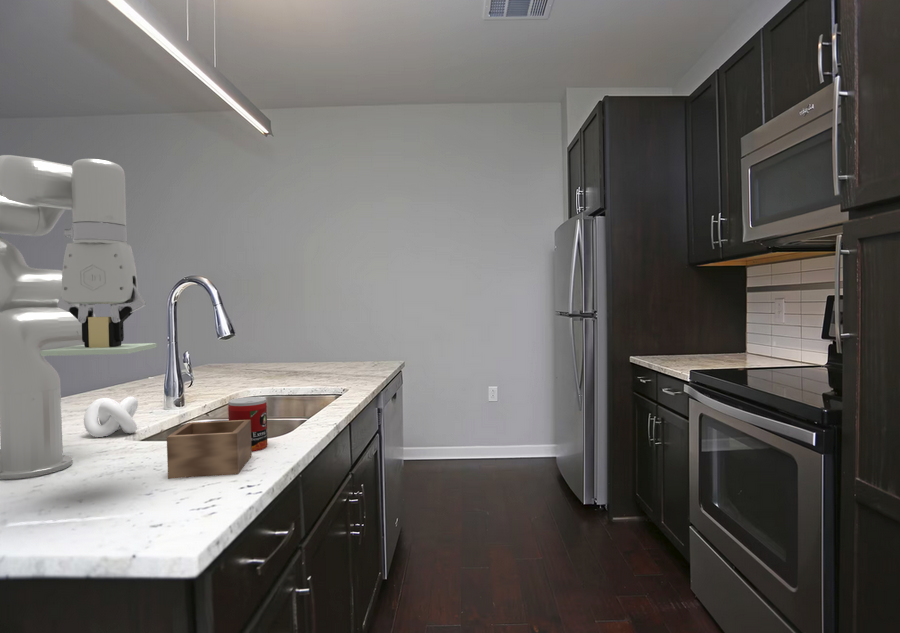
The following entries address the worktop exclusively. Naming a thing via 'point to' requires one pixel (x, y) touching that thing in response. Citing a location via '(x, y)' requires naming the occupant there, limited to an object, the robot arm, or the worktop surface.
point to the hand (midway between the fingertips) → (103, 345)
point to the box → (209, 449)
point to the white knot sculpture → (110, 416)
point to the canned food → (251, 418)
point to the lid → (98, 342)
